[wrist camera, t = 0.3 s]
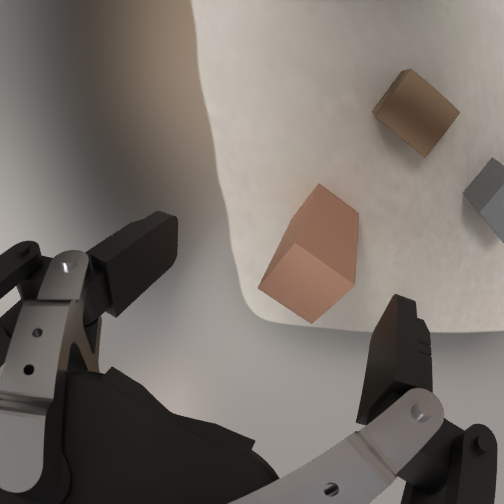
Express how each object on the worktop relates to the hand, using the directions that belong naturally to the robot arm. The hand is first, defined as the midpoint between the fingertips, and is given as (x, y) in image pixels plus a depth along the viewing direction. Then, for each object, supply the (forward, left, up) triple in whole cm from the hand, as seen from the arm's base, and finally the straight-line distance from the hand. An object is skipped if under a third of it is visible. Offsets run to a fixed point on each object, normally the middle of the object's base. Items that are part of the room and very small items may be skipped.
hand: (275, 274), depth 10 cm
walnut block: (-8, +4, -21) cm, 23 cm away
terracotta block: (+6, +4, -21) cm, 22 cm away
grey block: (-8, +16, -21) cm, 27 cm away
